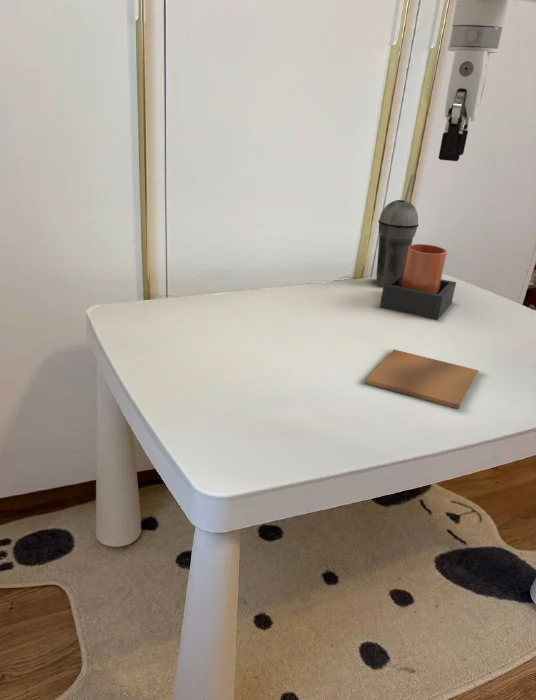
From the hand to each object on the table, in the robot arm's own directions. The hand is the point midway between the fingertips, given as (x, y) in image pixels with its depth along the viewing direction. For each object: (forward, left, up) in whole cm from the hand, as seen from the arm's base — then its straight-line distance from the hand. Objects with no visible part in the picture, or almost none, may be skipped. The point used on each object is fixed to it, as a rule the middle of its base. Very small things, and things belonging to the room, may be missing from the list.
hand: (451, 157), depth 107 cm
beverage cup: (+7, 0, -24) cm, 25 cm away
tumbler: (-1, +9, -24) cm, 25 cm away
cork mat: (-10, +38, -24) cm, 46 cm away
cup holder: (-1, +9, -24) cm, 25 cm away
